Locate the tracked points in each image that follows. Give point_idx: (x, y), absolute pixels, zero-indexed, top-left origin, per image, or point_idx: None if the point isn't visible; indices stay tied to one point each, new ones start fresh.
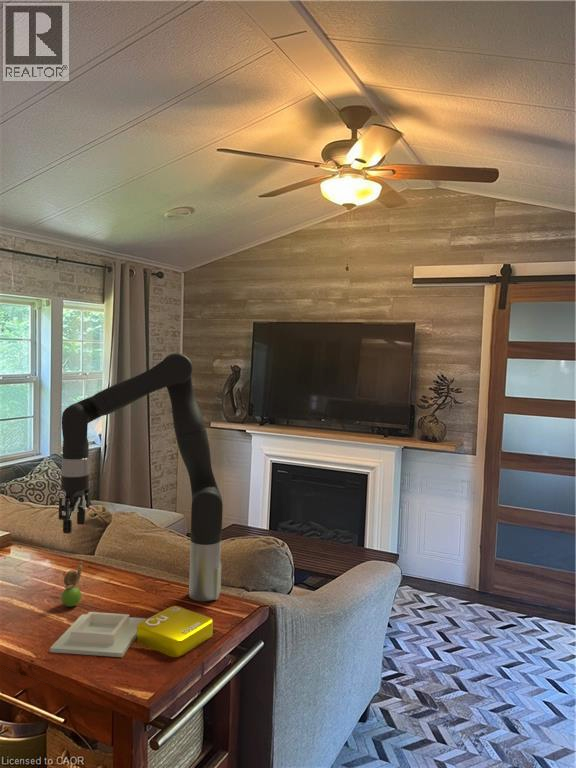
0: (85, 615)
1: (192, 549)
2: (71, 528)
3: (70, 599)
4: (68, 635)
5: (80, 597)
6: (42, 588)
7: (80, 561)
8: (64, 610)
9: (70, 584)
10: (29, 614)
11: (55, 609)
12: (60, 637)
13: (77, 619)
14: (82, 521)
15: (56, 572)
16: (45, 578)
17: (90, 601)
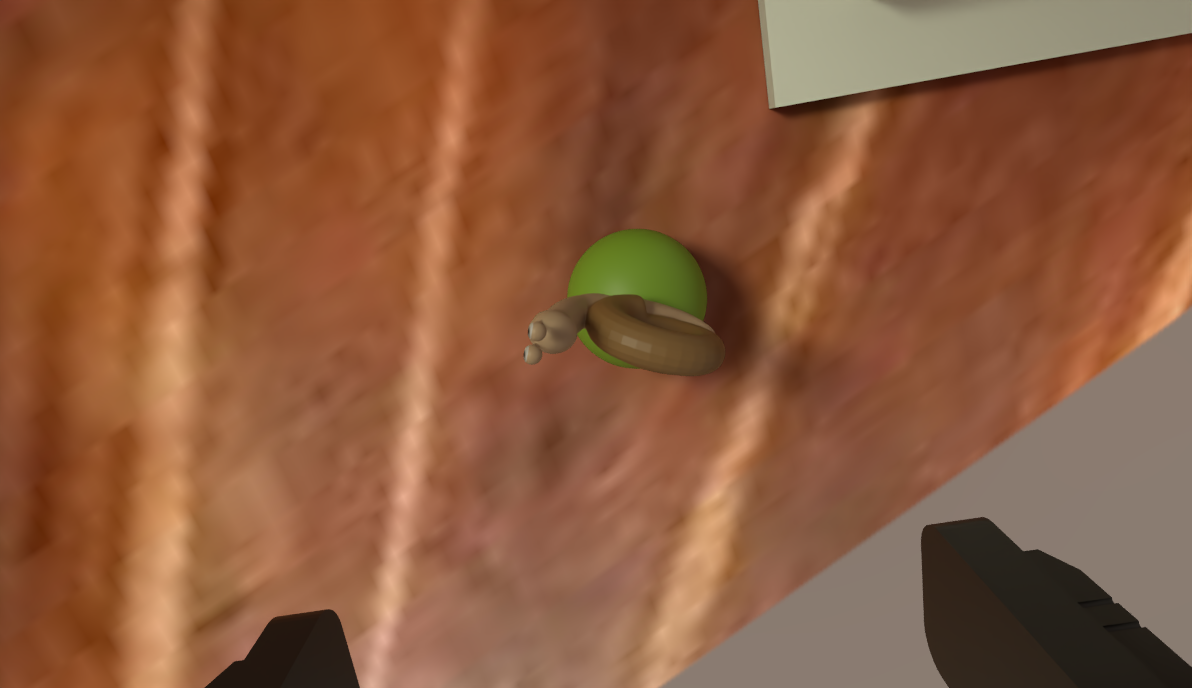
0: (790, 70)
1: None
2: (980, 565)
3: (698, 265)
4: (1076, 8)
5: (623, 230)
6: (469, 599)
7: (536, 350)
8: None
9: (667, 317)
10: (806, 447)
11: None
12: (1111, 43)
13: (856, 89)
14: (315, 677)
15: None
16: None
17: (531, 201)
